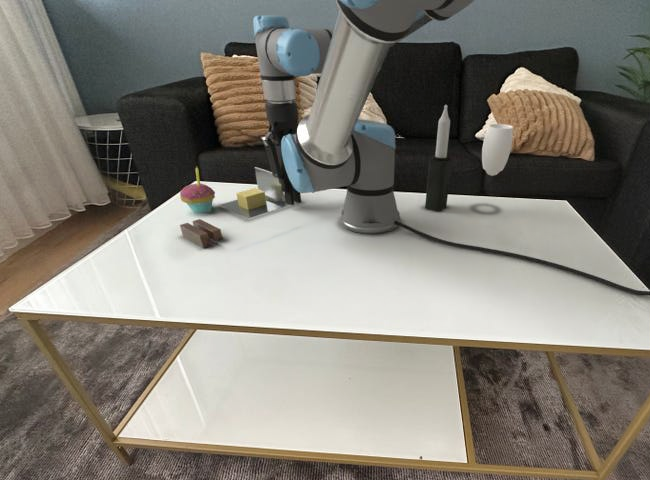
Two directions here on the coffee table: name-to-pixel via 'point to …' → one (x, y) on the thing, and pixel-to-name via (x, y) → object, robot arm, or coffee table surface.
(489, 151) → the cup
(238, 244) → the coffee table surface
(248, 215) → the plate
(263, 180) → the cleaver
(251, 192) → the butter
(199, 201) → the cupcake
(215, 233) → the chocolate bar
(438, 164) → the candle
